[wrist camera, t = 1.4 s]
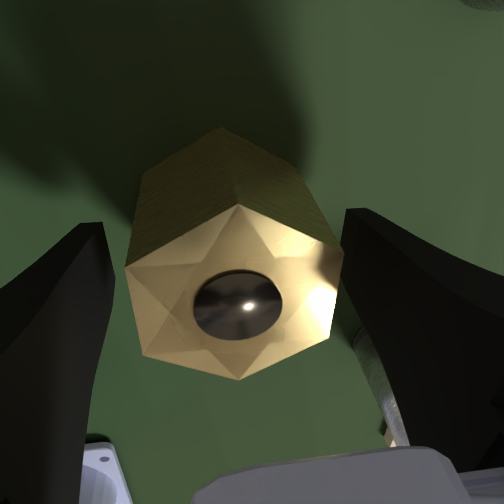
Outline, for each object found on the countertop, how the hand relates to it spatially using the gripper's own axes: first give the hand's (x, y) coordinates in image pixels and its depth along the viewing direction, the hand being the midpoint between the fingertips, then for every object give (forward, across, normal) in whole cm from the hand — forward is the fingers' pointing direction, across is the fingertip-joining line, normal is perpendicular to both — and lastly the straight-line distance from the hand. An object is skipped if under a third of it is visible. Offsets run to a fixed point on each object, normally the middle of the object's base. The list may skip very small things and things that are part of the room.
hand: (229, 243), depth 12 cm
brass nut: (+2, 0, 0) cm, 2 cm away
